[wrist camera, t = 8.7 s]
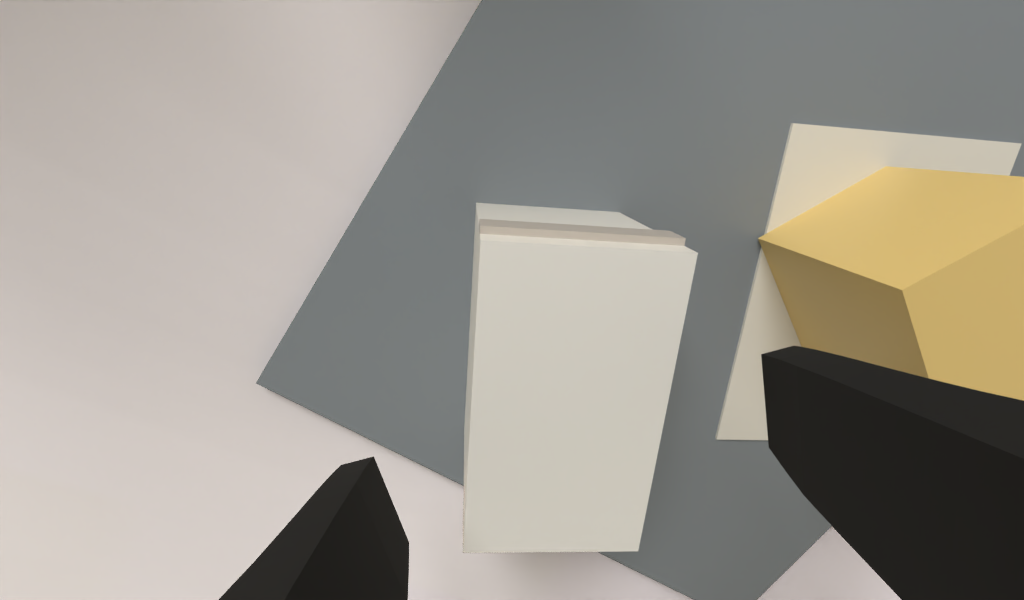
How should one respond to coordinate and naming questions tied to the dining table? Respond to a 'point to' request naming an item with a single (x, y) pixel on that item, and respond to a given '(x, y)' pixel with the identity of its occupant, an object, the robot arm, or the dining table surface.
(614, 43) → the baseplate
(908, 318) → the ochre brick
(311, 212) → the dining table surface
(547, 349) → the cream brick
